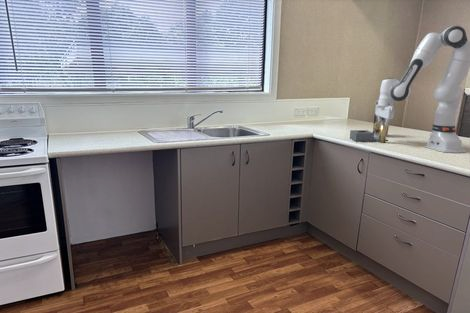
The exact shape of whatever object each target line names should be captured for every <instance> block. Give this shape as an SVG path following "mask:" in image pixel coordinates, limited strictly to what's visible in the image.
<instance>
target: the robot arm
mask: <svg viewBox="0 0 470 313" xmlns="http://www.w3.org/2000/svg"><path fill="white" fill-rule="evenodd" d="M444 46H445V47H451V48H452V52H451V55H450V59H449V60H448V63H447V65H446V66H447V67H446V69H445V72H444V74H443V76H442V78H441V79H440V81H439V83H438V85H437V87H436V88H435V89H434V91H433V98H434V100H436V101H437V102H438V106H437V109H435V112H434V119H433V124H432V127H431V133H430V134H429V135H428V136H429V137H428V141H427V144H426V145H425V147H424V148H426V149H431V150H434V151H438V152H442V153H449V154H451V153H452V154H457V153H458V154H461V153H462V154H463V153H466V150H465V149H464V148H462V145H463V144H462V143H463V141H462V140H461V139H460V137H459V136H458V134H457V133H456V132H457V128H456V118H457V113H458V110H459V106H460V103H461V99H462V97H463V95H464V89H463V87H461V86H462V83H463V81H464V80H465V78H466V77H467V75H468V73H469V70H470V40H469V39H468V36H467V31H466V30H465V28H464V27H462V26H461V25H451V26H449V27H447V28H445V29H444V30H442V31H441V32H429V33H427V34H426V35H425V36H424V37H423V39H422V40H421V41H420V43H419V45H418V46H417V47H416V50H414V53H413V56H412V58H411V61H410V63H409V66H408V67H407V69H406V71H405V72H404V74H403V76H402V77H401V79H400V80H398V79H397V78H395V77H389V78H388V77H387V78H384V79H383V80H382V81H381V84H380V88H379V90H380V91H379V98H378V100H376V101H375V110H374V111H375V112H374V115H375V114H376V115H377V116H378V123H382V120H381V118H382V117H383V118H386V122H385V124H384V125H386V126H388V123H389V124H390V120H393V119H394V117H395V108H394V101H397V102H402V101H405V100H406V99H407V98H408V97H410V95H411V94H412V87H411V85H412V84H413V82H414V81H415V78H416V77H417V75H418V74H419V73H420V72H421V71H422V70H423V69H425V68H426V67H428V66H429V64H431V63H432V60H434V58H435V56H436V55H437V53H438V52H439V50H440V49H441V48H442V47H444Z"/></svg>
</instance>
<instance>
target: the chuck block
mask: <svg viewBox="0 0 470 313" xmlns="http://www.w3.org/2000/svg"><path fill="white" fill-rule="evenodd" d="M374 137H375V136H374V133H373V131H369V130H367V129H366V130H365V129H364V130H361V129H359V130H357V129H355V130H353V129H350V131H349V139H350V140H351V139H352V140H351V141H353V140H354V141H353V142H355V143H374V142H375V141H374Z"/></svg>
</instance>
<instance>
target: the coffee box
mask: <svg viewBox="0 0 470 313" xmlns="http://www.w3.org/2000/svg"><path fill="white" fill-rule="evenodd" d="M381 120H382V123H378V116H377V115H376V114H375V113H374V118H373V127H372V132H373V133H374V137H379V135H380V126H381V124H385V122H386V118H383V117H382V118H381ZM389 128H390V122H389V123H388V126H387V131H386V138H387V137H388V136H389Z"/></svg>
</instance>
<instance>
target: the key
mask: <svg viewBox="0 0 470 313" xmlns="http://www.w3.org/2000/svg"><path fill="white" fill-rule="evenodd" d="M386 131H387V126H386V125H384V124H381V126H380V135H379V141H378V143H379V144H386V141H385V140H386V138H387V137H386Z"/></svg>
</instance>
